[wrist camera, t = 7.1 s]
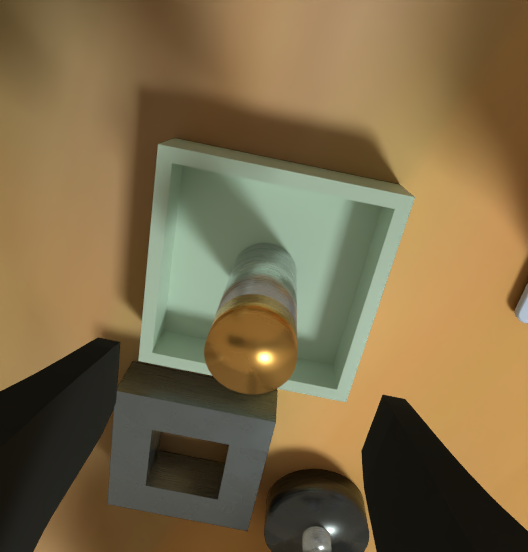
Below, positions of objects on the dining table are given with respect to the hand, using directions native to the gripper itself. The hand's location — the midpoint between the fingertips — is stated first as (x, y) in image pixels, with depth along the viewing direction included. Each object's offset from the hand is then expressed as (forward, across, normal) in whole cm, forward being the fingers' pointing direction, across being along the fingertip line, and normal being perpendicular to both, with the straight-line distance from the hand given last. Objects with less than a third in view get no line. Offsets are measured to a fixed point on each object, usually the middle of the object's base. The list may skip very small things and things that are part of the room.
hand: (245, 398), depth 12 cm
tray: (+10, 0, 0) cm, 10 cm away
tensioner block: (+10, -1, +13) cm, 16 cm away
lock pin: (+9, 0, 0) cm, 9 cm away
